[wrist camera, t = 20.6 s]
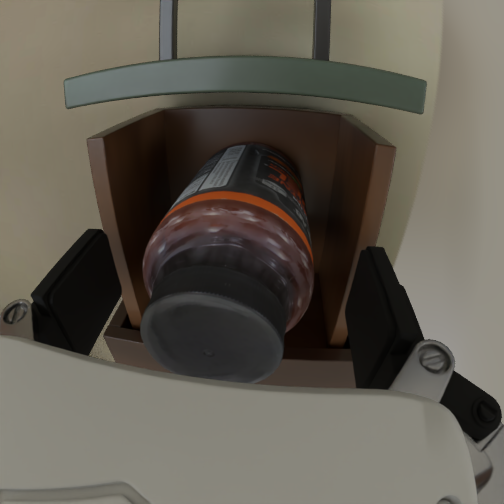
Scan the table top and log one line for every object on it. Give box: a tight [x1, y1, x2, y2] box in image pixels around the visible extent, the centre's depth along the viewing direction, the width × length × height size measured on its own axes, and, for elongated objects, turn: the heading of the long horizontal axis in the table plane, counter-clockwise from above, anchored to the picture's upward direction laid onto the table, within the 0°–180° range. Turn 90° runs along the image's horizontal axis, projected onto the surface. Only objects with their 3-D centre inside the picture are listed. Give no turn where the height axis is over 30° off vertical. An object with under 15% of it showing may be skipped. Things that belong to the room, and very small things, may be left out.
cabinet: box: [103, 300, 356, 388], centre depth 22 cm, size 15×14×10 cm
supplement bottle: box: [140, 142, 314, 384], centre depth 12 cm, size 6×6×11 cm
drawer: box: [64, 0, 427, 349], centre depth 13 cm, size 18×12×8 cm
